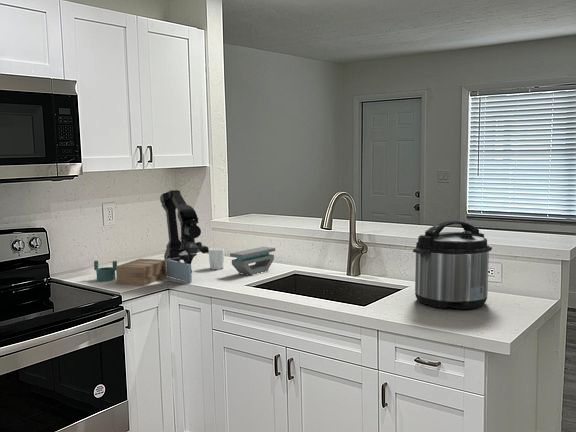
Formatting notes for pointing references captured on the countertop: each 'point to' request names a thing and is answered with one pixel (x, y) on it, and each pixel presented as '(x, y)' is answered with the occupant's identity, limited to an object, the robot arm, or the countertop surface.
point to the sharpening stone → (253, 260)
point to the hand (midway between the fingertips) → (188, 269)
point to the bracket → (105, 272)
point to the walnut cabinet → (141, 272)
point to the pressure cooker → (452, 267)
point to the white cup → (216, 258)
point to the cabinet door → (178, 270)
